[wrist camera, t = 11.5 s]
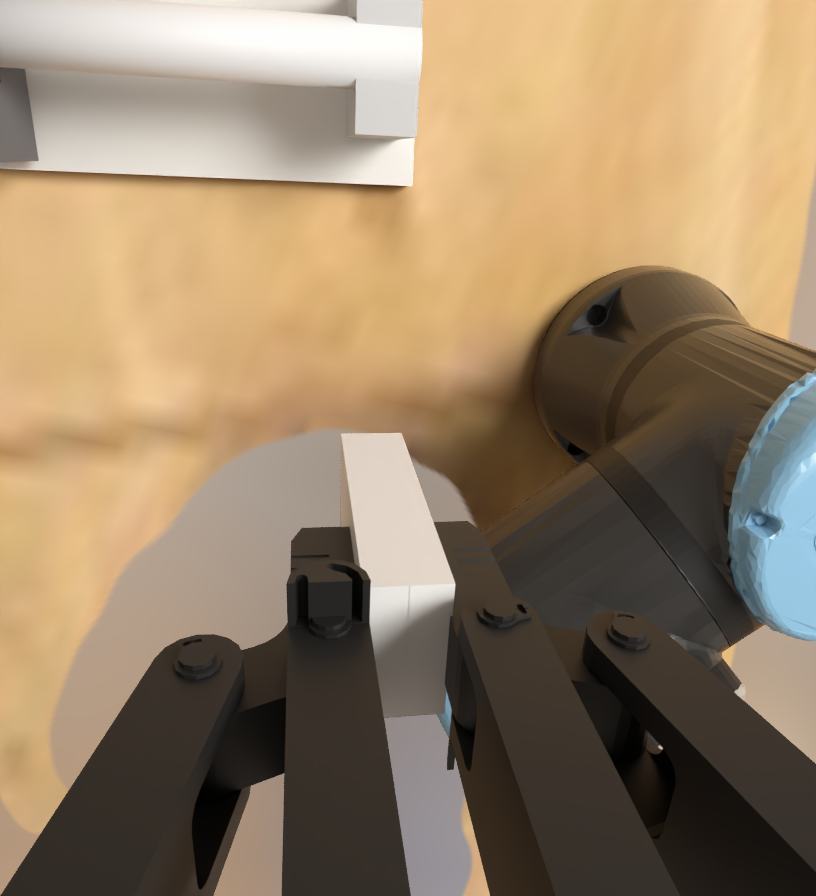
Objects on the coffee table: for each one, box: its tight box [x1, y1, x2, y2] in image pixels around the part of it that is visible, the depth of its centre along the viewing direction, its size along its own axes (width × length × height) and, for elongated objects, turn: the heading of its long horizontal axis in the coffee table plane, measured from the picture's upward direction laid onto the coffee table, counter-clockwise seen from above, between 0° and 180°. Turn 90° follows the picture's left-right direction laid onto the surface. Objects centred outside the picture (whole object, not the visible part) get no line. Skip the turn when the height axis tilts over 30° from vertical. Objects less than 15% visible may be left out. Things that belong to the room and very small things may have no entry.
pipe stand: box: [0, 0, 423, 186], centre depth 34 cm, size 30×12×9 cm, turn 87°
